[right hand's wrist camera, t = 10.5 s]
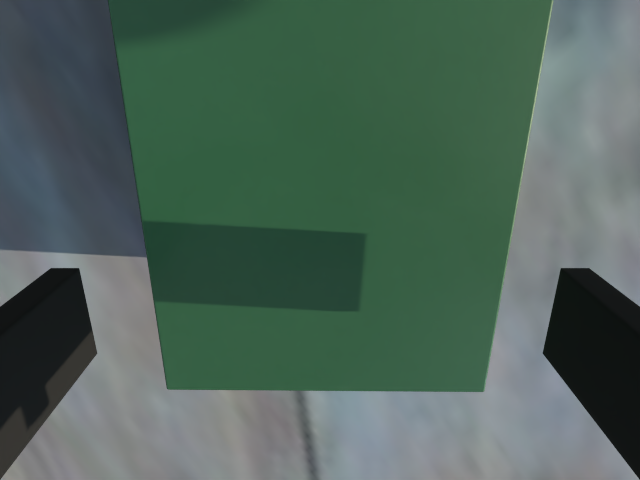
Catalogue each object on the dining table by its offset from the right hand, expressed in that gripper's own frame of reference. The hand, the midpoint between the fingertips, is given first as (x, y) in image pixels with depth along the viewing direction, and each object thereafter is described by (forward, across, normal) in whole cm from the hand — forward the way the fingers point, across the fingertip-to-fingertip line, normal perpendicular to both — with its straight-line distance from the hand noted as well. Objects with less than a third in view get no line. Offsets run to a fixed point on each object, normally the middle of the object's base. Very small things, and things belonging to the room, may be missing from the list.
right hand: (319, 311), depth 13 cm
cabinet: (+12, 0, -4) cm, 13 cm away
